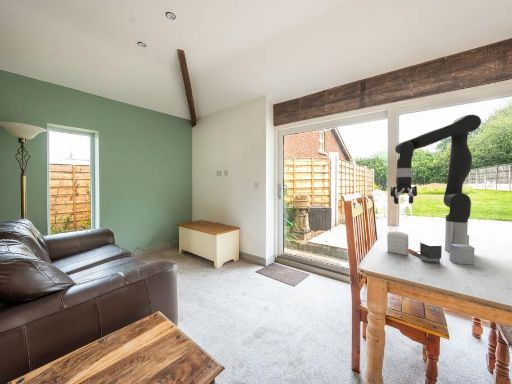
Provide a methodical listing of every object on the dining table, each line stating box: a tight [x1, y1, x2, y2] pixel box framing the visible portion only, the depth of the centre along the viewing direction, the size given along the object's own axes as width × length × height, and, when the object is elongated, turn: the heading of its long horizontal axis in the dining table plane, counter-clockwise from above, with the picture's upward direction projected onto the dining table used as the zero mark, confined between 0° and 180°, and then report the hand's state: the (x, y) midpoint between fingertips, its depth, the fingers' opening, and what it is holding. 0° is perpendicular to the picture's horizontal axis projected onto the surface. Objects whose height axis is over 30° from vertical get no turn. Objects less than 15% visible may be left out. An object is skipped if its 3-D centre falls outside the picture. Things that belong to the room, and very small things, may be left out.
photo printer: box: [387, 230, 409, 256], centre depth 122 cm, size 10×4×12 cm, turn 39°
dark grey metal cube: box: [419, 241, 443, 259], centre depth 109 cm, size 6×6×6 cm
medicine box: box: [448, 244, 475, 265], centre depth 106 cm, size 8×4×9 cm, turn 71°
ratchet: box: [408, 247, 441, 265], centre depth 115 cm, size 8×18×6 cm, turn 0°
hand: (403, 203), depth 127 cm, fingers open, 8 cm apart
